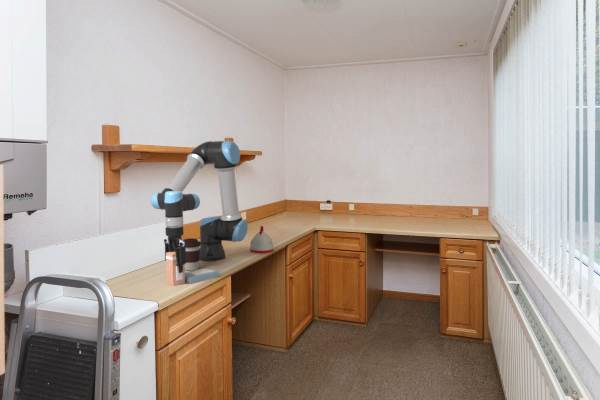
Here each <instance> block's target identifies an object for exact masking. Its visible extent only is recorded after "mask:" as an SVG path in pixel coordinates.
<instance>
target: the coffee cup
mask: <svg viewBox="0 0 600 400" xmlns="http://www.w3.org/2000/svg"><path fill="white" fill-rule="evenodd" d="M182 241H183V242H186V247H185V248H186V264H185V271H187V272H190V271H194V270H199V269H200V268H199V264H200V260H199V256H200V249H199V248H200V245H201V242H200V240H198V239H197V238H184V239H182Z"/></svg>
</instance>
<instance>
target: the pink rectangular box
mask: <svg viewBox="0 0 600 400" xmlns="http://www.w3.org/2000/svg"><path fill="white" fill-rule="evenodd" d="M165 262H166V263H165V266H166V269H165V271H166V284H167V285H169V286H172V287H175V286H179V285H184V284H186V283H185V272H186V270H185V264H184V265H183V279H182V280H178V281H177V280H176V265H177V260H176V253H175V251H174V252H167V253H166V261H165Z"/></svg>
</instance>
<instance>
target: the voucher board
mask: <svg viewBox="0 0 600 400" xmlns="http://www.w3.org/2000/svg"><path fill="white" fill-rule="evenodd" d="M218 277H220V271H219V270H215V269H211V268H207V267H205V268H204V267H203V268H201V269H200V268H198V269H197V270H191V271H185V283H184V284H187V285H189V284H190V285H191V284H194V282H195V283H198V281H199V282H203V281H206V280H211V279H215V278H218Z"/></svg>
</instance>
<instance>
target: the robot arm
mask: <svg viewBox="0 0 600 400" xmlns="http://www.w3.org/2000/svg"><path fill="white" fill-rule="evenodd" d="M186 157H187V158H186V161H185V162H184V163H183V164H182V166H181V167H180V169H179V170H178V171H177V172H176V173H175V175H174V176H173V177H172V178H171V180H170V181H169V182H168V183H167V185H166V186H165V187H164V189H163V190H162V191H161V192H157V193H154V194H153V195H152V196H151V197H150V198H151V199H150V204H151V206H152V207H153V208H154V209H156V210H163V211H165V213H164V215H165V226H166V227H165V236H166V237H167V238H165V239H163V242H164V261H165V262H166V253H167V252H174V251H175V253H176V260H177V265H176V280H177V281H178V280H182V279H183V265H184V264H186V248H185V247H186V242H183V239H182V236H183V235H184V212H189V211H193V210H197V209H198V208H199V206H200V204H201V199H200V197H199V195H197V194H195V193H183V192H184V191H185V189H186V188H187V186H189V184H190V183H191V181H192V180H193V178H194V177H195V175H197V173H198V171H199V170H200V169H201V170H202V169H203V168H204V167H205V166H206V165H209V164H211V165H213V167H214V170H215V171H217V176H218V177H217V178H218V184H219V195H220V202H221V203H220V204H221V210H222V214H221V215H222V216H221V215H215V216H208V217H203V218H201V219H200V221H199V236H200V237H199V238H200V240H199V242H201V245H200V246H199V249H200V256H199V261H203V262H213V261H214V262H216V261H221V260H225V259H226V252H225V249H224V246H223V242H224V241H226V242H242V241H243V240H244V239H245V237H246V236H247V233H248V227H249V226H248V222H247V221H246V220H245V219H243V215H242V214H241V213H240V212H239V202H238V192H237V183H236V173H235V170H236V168H237V166H238V165H237V164H238V163H239V162H240V158H241V151H240V148H239V146H238V145H237V144H236V143H235V142H234V141H232V140H231V141H229V140H219V141H217V140H215V141H212V140H210V141H205V142H203V143H202V142H201V144H199V145H197V146H196V147H195V148H194V149H192V150H191V152H189V154H188V155H187V156H186Z"/></svg>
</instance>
